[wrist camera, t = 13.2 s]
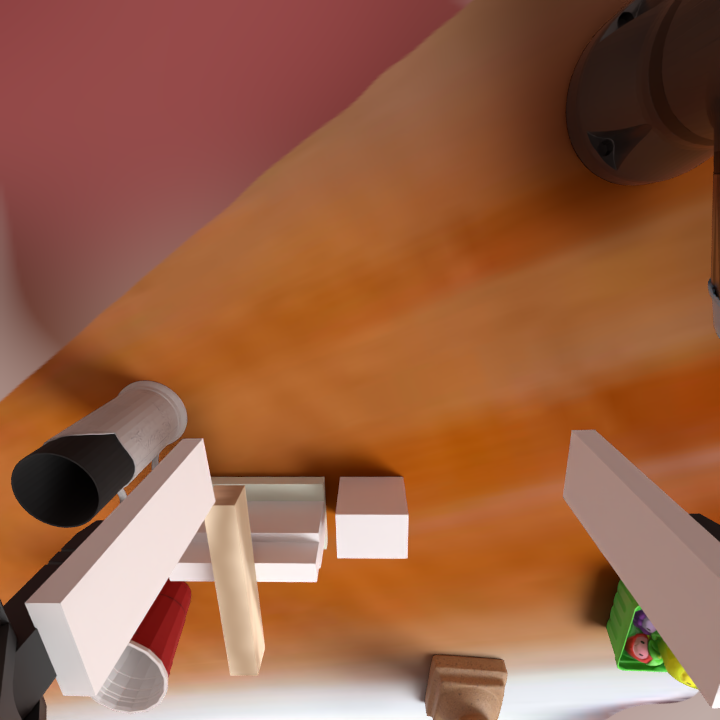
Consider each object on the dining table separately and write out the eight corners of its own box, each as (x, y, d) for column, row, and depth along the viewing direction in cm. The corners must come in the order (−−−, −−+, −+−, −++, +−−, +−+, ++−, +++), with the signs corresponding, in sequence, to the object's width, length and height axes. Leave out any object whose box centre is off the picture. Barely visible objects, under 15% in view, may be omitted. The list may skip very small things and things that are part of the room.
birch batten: (244, 485, 38) (234, 505, 35) (265, 647, 44) (257, 675, 42) (214, 485, 38) (202, 505, 35) (239, 647, 44) (230, 675, 42)
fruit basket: (611, 571, 53) (674, 657, 42) (677, 573, 52) (756, 660, 42) (594, 632, 56) (648, 726, 45) (655, 635, 56) (724, 729, 45)
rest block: (403, 476, 49) (408, 514, 42) (402, 516, 50) (407, 558, 44) (340, 476, 49) (335, 514, 42) (341, 515, 51) (337, 558, 44)
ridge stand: (324, 476, 49) (313, 534, 39) (327, 540, 52) (318, 608, 42) (200, 476, 49) (159, 534, 40) (210, 540, 52) (175, 607, 43)
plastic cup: (181, 550, 53) (129, 636, 42) (222, 604, 56) (185, 698, 44) (118, 575, 55) (51, 665, 43) (161, 627, 58) (110, 723, 46)
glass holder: (166, 371, 45) (72, 433, 31) (218, 470, 49) (156, 566, 35) (102, 393, 46) (-18, 462, 32) (158, 488, 50) (73, 589, 36)
